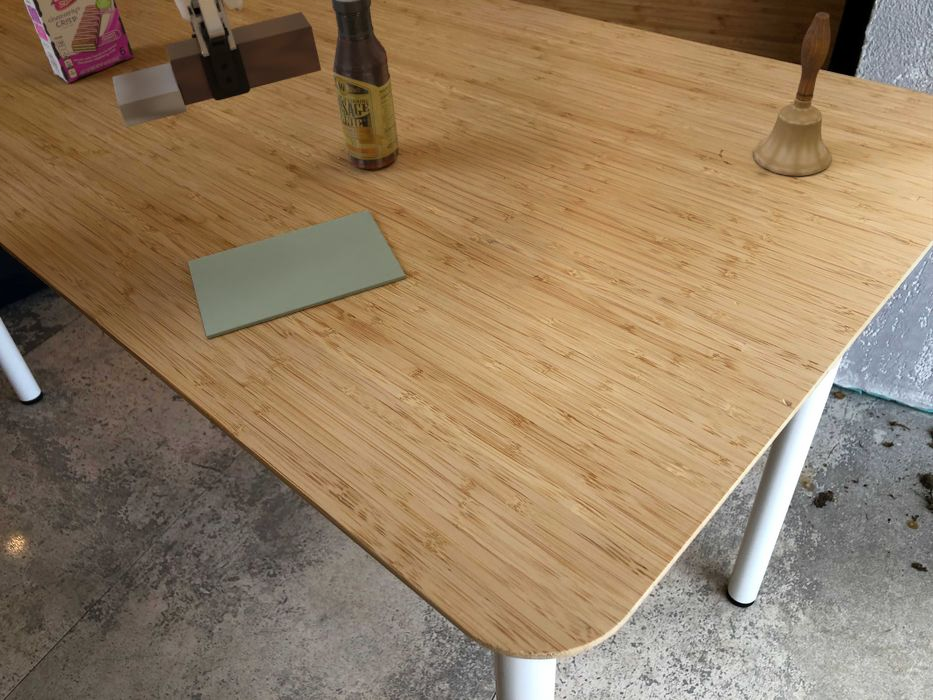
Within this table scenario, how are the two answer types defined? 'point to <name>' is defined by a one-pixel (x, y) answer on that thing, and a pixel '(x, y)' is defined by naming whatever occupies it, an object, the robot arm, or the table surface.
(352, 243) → the mat
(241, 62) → the robot arm
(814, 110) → the hand bell
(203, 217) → the table surface
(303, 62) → the dark brown bar
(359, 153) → the sauce bottle
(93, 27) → the candy bar box
